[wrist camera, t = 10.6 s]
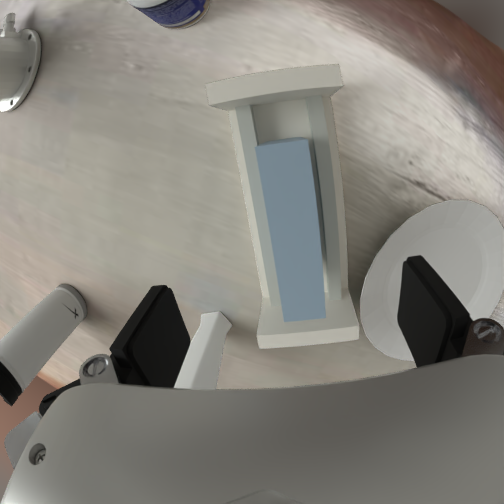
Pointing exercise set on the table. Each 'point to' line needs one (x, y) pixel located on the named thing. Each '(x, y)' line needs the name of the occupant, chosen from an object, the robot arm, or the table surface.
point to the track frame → (325, 182)
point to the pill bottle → (173, 11)
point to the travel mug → (38, 339)
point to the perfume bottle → (204, 353)
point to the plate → (435, 267)
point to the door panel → (293, 226)
